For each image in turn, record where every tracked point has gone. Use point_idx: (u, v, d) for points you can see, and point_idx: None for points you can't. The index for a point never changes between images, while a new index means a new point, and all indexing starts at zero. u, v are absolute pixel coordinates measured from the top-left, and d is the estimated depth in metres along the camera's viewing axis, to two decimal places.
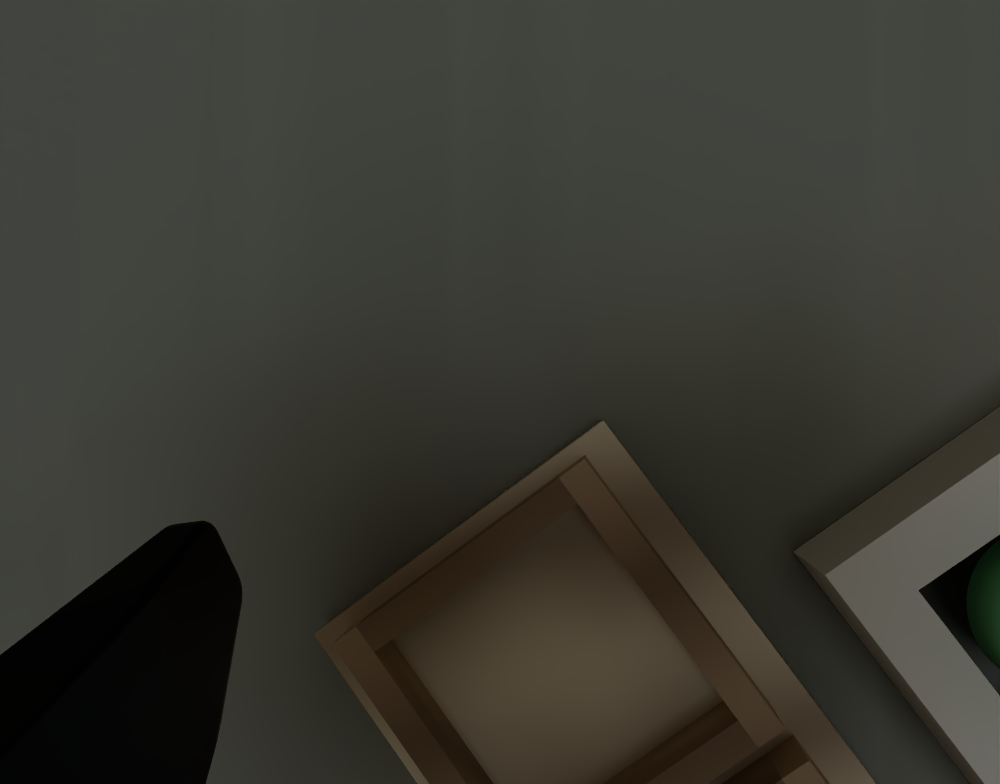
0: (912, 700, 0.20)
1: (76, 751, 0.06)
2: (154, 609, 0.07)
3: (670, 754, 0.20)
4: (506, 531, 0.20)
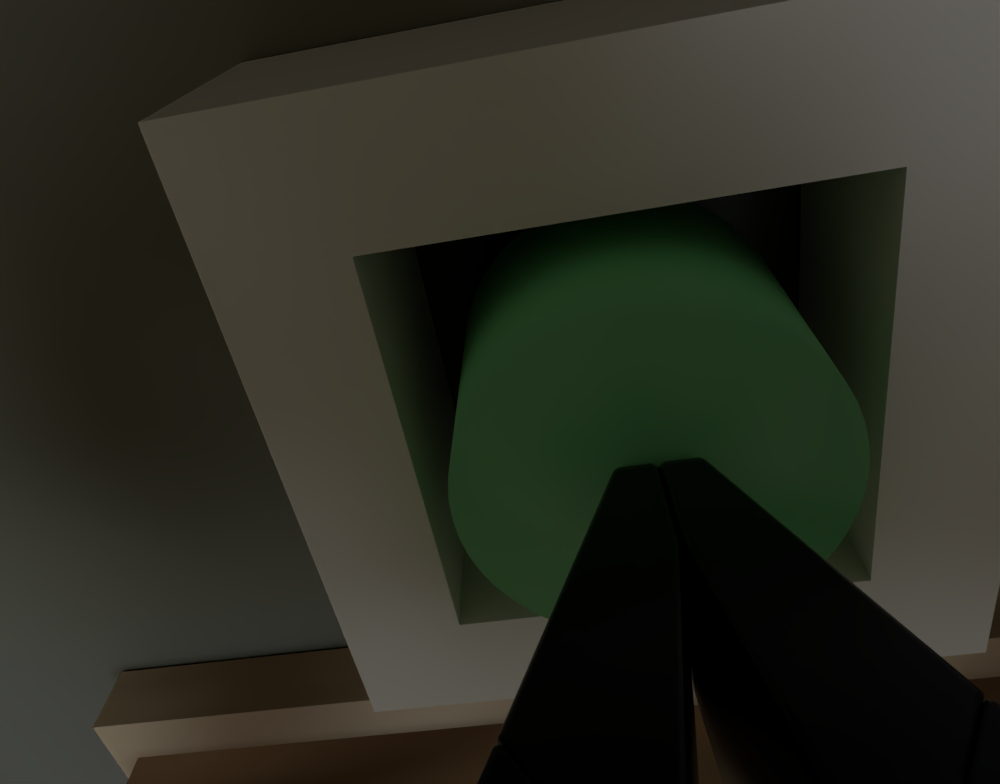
0: None
1: (690, 692, 0.05)
2: None
3: None
4: None
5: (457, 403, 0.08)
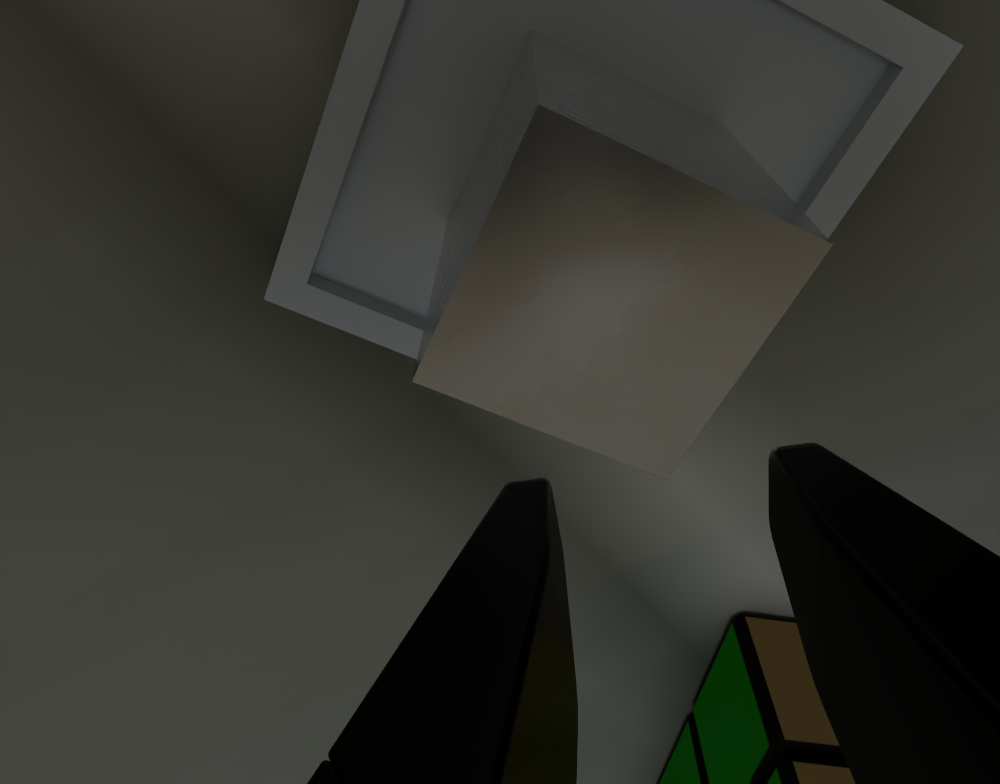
0: None
1: (539, 707, 0.05)
2: (551, 563, 0.06)
3: None
4: None
5: None
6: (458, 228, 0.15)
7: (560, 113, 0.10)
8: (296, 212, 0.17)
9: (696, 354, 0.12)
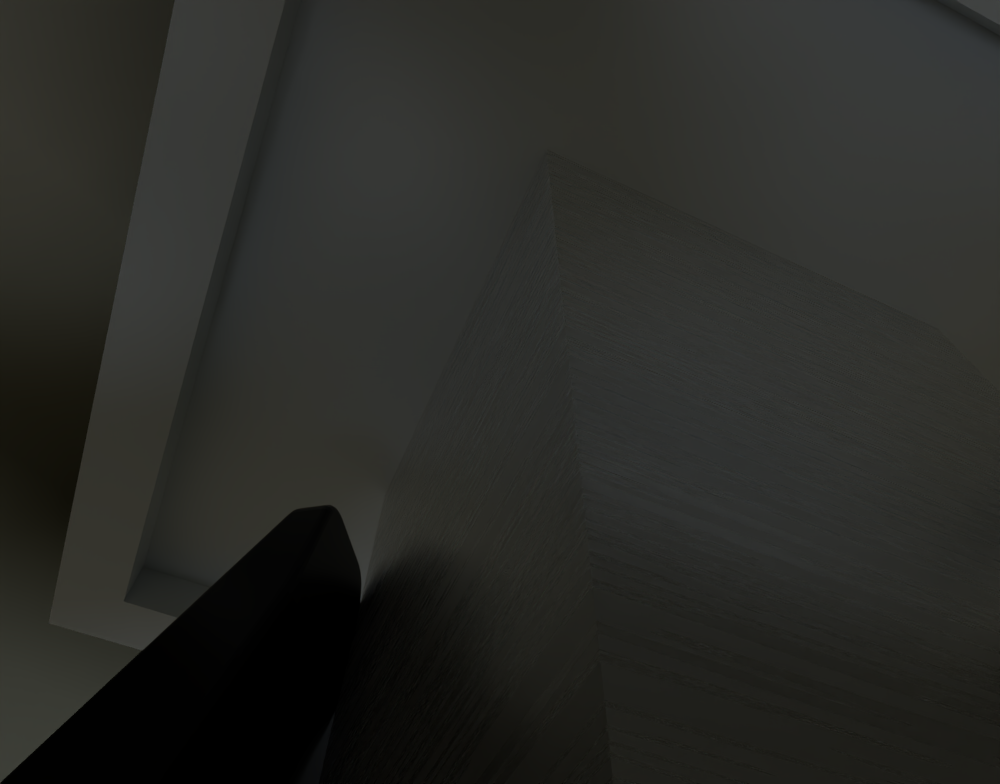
0: None
1: (246, 735, 0.06)
2: (301, 592, 0.07)
3: None
4: None
5: None
6: (375, 660, 0.06)
7: None
8: (83, 493, 0.09)
9: None
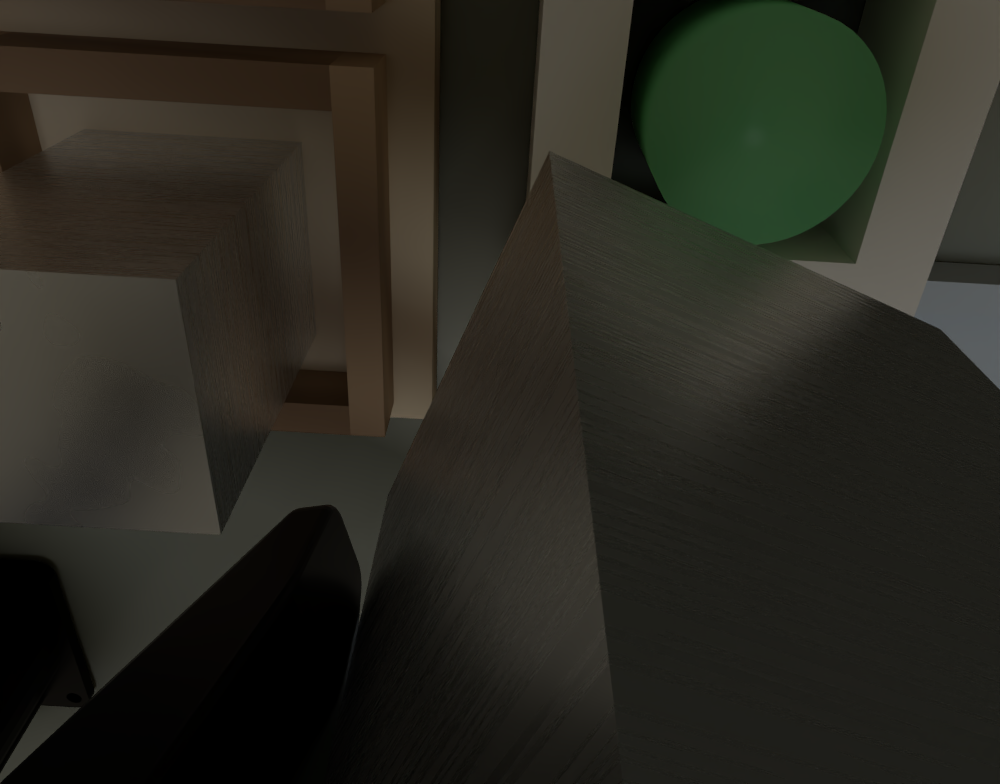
0: (533, 111, 0.16)
1: (246, 735, 0.06)
2: (300, 592, 0.07)
3: None
4: None
5: None
6: (380, 662, 0.06)
7: None
8: None
9: None
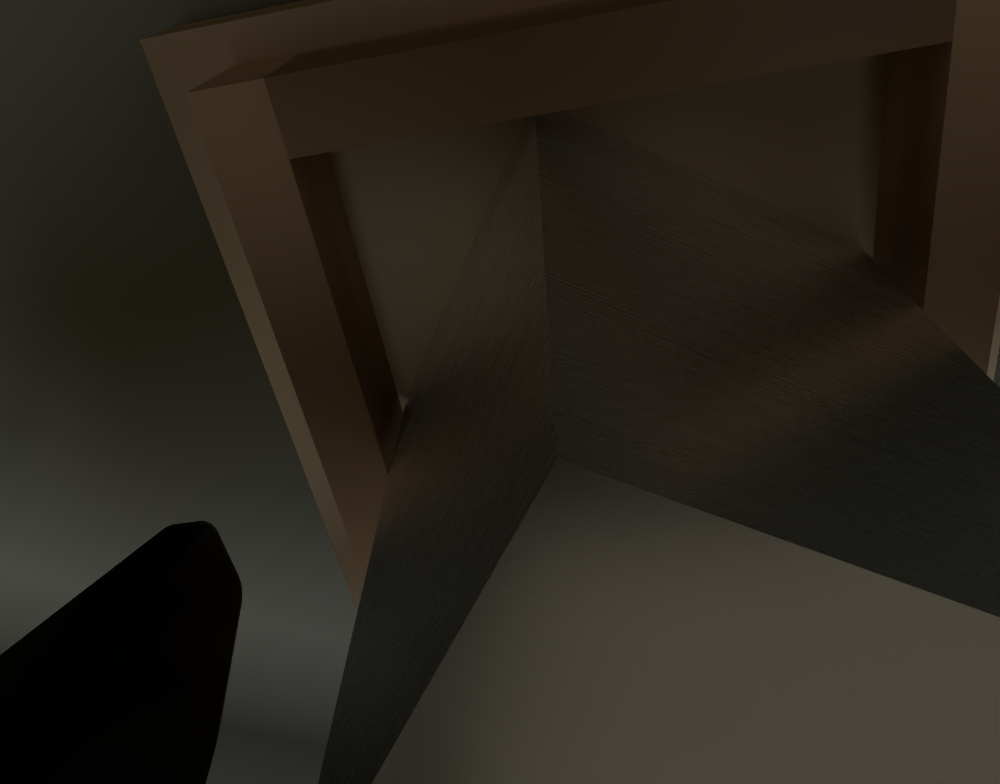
0: None
1: (76, 751, 0.06)
2: (154, 609, 0.07)
3: None
4: (749, 22, 0.07)
5: None
6: (406, 485, 0.08)
7: (624, 472, 0.03)
8: None
9: None
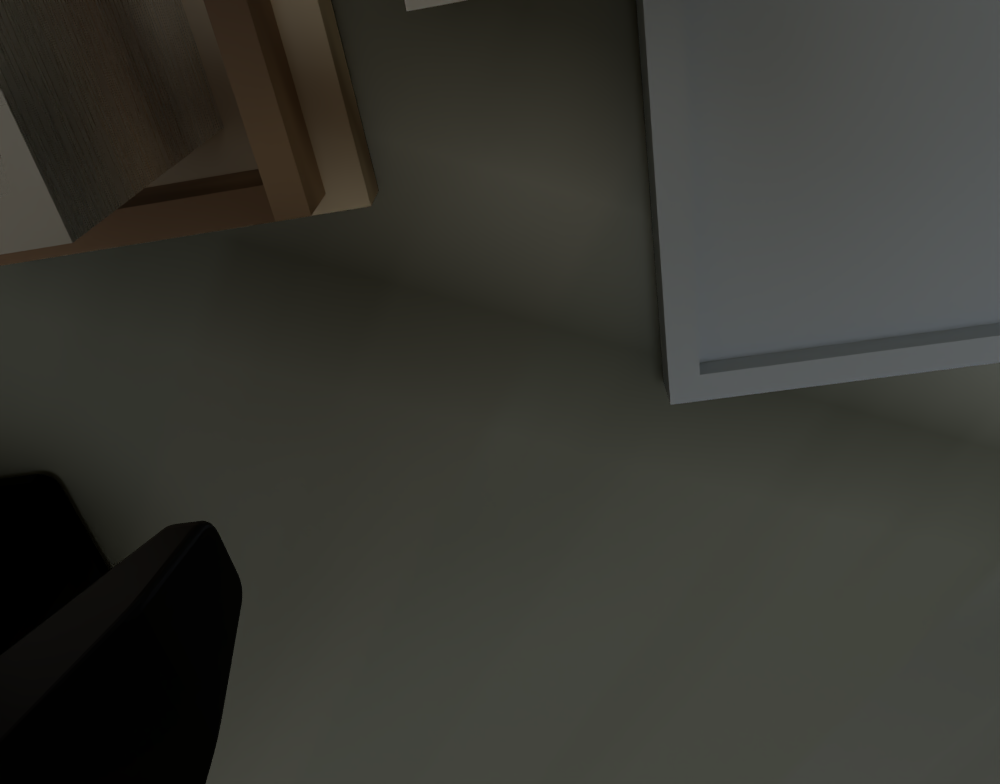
0: None
1: (76, 751, 0.06)
2: (154, 609, 0.07)
3: None
4: None
5: None
6: None
7: None
8: (669, 325, 0.20)
9: None
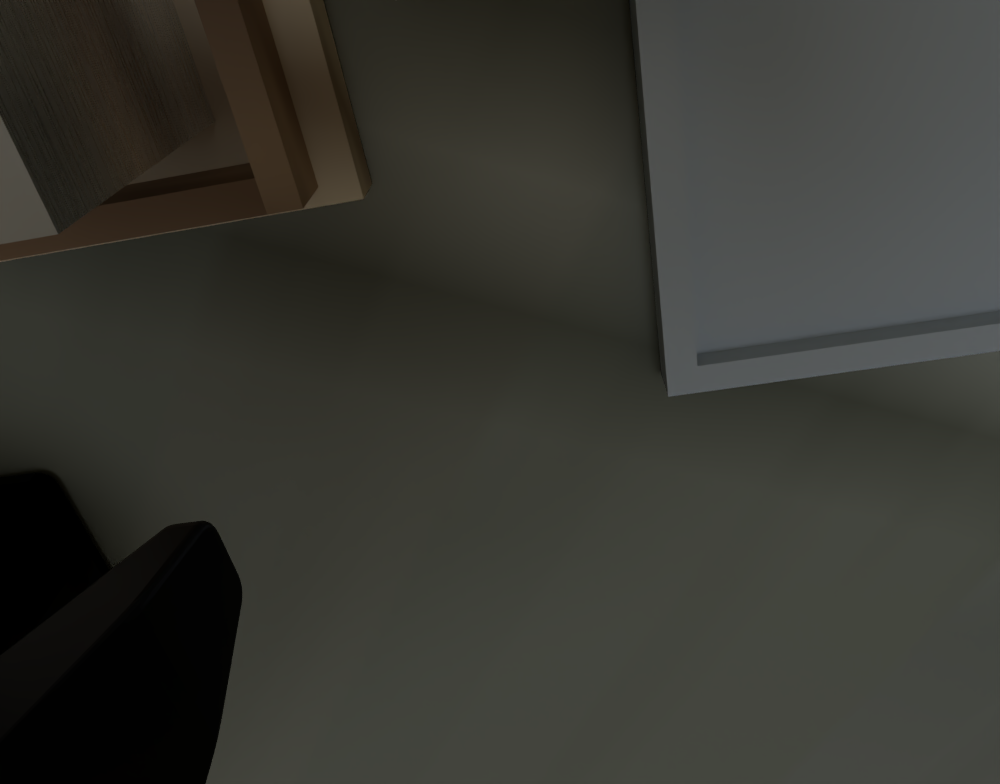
0: None
1: (76, 751, 0.06)
2: (154, 609, 0.07)
3: None
4: None
5: None
6: None
7: None
8: (665, 316, 0.20)
9: None
